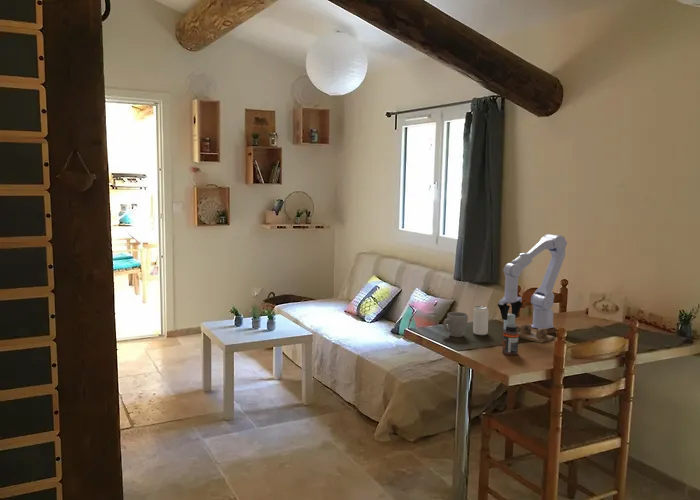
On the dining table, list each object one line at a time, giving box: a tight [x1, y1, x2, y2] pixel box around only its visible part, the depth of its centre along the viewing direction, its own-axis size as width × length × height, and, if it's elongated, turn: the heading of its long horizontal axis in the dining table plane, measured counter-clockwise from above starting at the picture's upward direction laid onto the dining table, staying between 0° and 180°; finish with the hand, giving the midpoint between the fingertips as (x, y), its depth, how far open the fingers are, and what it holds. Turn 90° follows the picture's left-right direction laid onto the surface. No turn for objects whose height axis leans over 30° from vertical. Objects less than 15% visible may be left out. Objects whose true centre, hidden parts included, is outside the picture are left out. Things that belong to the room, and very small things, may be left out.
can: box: [472, 305, 490, 336], centre depth 269 cm, size 6×6×12 cm
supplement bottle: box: [502, 324, 520, 356], centre depth 239 cm, size 6×6×11 cm
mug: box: [442, 311, 469, 338], centre depth 264 cm, size 12×9×10 cm
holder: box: [518, 323, 555, 344], centre depth 265 cm, size 10×14×5 cm
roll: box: [503, 313, 516, 331], centre depth 278 cm, size 5×5×7 cm
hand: (509, 318), depth 278 cm, fingers open, 7 cm apart
